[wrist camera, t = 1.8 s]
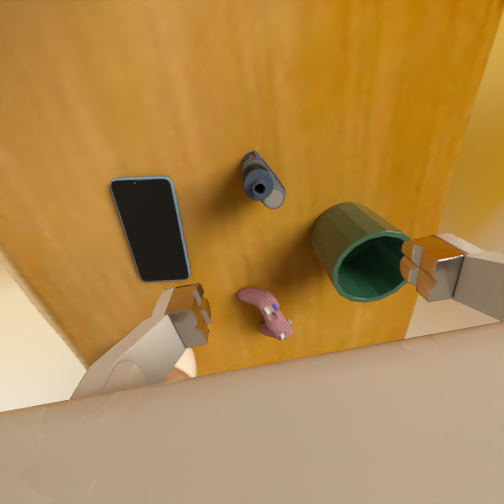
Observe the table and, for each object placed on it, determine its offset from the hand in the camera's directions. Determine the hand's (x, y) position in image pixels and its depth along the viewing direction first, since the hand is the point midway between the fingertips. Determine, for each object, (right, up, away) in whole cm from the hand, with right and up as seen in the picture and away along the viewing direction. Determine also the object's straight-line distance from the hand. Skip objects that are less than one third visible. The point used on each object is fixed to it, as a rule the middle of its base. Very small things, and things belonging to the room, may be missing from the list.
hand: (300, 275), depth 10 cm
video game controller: (0, -7, +30) cm, 31 cm away
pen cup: (+11, +4, +24) cm, 26 cm away
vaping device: (-1, +11, +19) cm, 22 cm away
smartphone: (-15, +3, +22) cm, 27 cm away
